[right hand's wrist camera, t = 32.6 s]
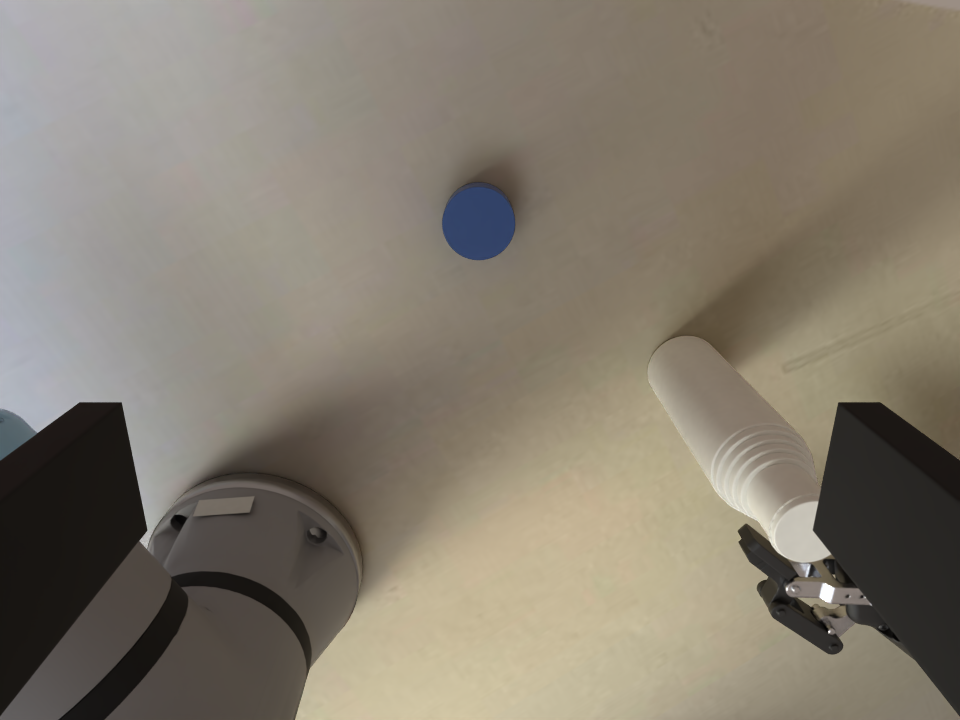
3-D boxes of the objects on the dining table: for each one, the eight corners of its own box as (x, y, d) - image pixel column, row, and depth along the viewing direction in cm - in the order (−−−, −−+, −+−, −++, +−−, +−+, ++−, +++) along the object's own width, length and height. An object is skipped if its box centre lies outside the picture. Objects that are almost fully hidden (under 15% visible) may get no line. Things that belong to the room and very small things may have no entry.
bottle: (687, 414, 46) (812, 598, 29) (632, 378, 45) (728, 545, 28) (734, 360, 45) (895, 519, 27) (678, 321, 44) (809, 460, 27)
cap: (492, 169, 41) (493, 172, 38) (525, 231, 42) (527, 238, 39) (431, 203, 41) (428, 209, 39) (465, 263, 43) (464, 272, 40)
